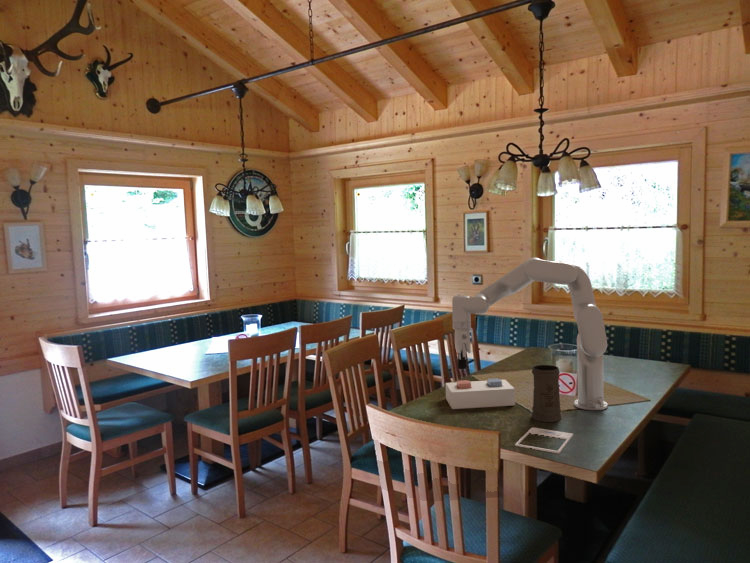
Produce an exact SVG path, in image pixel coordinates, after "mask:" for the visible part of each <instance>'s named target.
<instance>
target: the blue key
mask: <svg viewBox="0 0 750 563" xmlns="http://www.w3.org/2000/svg"><path fill="white" fill-rule="evenodd" d="M501 380H502V379H500V378H497V377H496V378H487V379H486V381H487V385H488V386H489V387H502V381H501Z"/></svg>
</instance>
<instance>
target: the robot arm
mask: <svg viewBox="0 0 750 563" xmlns="http://www.w3.org/2000/svg"><path fill="white" fill-rule="evenodd" d="M533 282H539V283H540V282H541V283H548V284H555V285H564V286H567V287H568V290H569V294H570V299H571V304H572V312H573V318H574V320H575V321H576V324H577V330H578V333H577V336H576V350H577V399H575V400H574V401H573V405H574V407H576V408H578V409H581V410H585V411H603V410H605V409H607V408H608V407H609V406H608V405H609V403H608V402H607V401H605V400H604V354H605V352H606V351H607V348H608V338H607V333H606V326H605V322H604V317H603V313H602V311H601V309H600V308H599V307H598V306H597V303H596V300H595V295H594V290H593V289H594V288H593V286H592V282H591V279H590V277H589V275H588V274H587V273H586V272H585V270H584V269H583V268H581V266H579V265H578V264H576V263H574V262H571V261H567V260H560V261H551V260H545V259H541V258H539V257H531V258H528V259H526V260H525V261H523V262H522V263H521V264H519V265H518V266H516V267H515V268H513V269H511V270H510V271H509V272H508V273H506V274H504V275H503V276H500V277H499V279H497V280H496V281H494V282H492V283H491V284H490V285H488V286H486V287H485V288H483V289H481V290H480V291H479V292H477V293H475V295H474V296H469V295H467V294H465V295H464V294H459V295H458V294H457V295H454V296H452V300H451V301H452V302H451V303H452V304H451V305H452V309H451V310H452V311H451V312H452V317H451V319H452V329H453V330H454V347H455V350H456V352H457V368H458V370H466V369H467V353H468V354H470V353H471V352H472V351H471V349H472V348H471V337H470V336H471V333H470V330H471V329H472V320H471V319H472V318H471V317H472V314H475V315H485V314H486V313H487V312H488V311H489V309H490V307H491V306H493V305H494V304H495V303H497V302H499V301H500V300H502V299H505V298H506V297H508V296H513V295H515V294H516V293H518V292H520V291H521V290H523V289H525V287H527V286H529V285H530V284H532V283H533Z"/></svg>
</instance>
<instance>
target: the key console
mask: <svg viewBox="0 0 750 563" xmlns="http://www.w3.org/2000/svg"><path fill="white" fill-rule="evenodd" d="M500 380H501V381H502V387H489V386H488V385H487V380H475V381H473V380H472V381H470V383H471V388H468V389H458V388H457V381H455V382H454V381H453V382H445V399H446V401H447V402H448V404H449V406H450V408H451V409H452V410H461V409H476V408H494V407H507V406H509V407H510V406H516V392H515V387H514V386H512V384H511V383H510V382H508V381H507V379H500Z"/></svg>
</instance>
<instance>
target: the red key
mask: <svg viewBox="0 0 750 563" xmlns="http://www.w3.org/2000/svg"><path fill="white" fill-rule="evenodd" d="M456 382H457V388H458V389H468V388H471V383H470V382H471V381H470V380H469V379H464V380H462V379H461V380H456Z"/></svg>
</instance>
